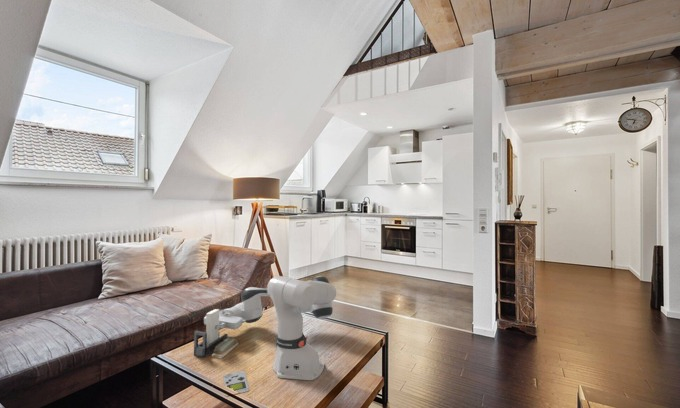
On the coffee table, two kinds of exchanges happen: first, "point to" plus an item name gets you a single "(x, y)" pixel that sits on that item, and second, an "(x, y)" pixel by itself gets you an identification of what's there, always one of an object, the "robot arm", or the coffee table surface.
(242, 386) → the handheld gaming device
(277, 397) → the coffee table surface
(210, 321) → the white rectangular slab
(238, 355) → the coffee table surface
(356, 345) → the coffee table surface
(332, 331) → the coffee table surface
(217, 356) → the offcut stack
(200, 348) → the slot rack
